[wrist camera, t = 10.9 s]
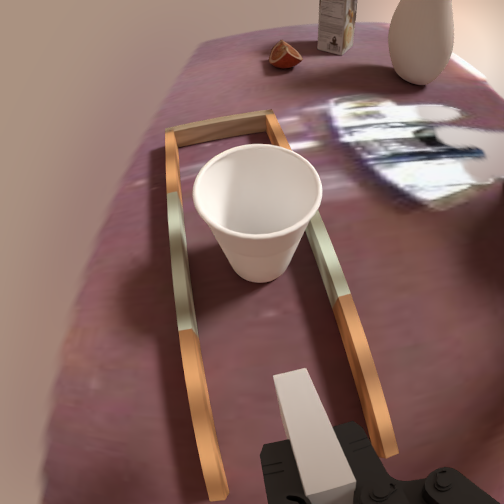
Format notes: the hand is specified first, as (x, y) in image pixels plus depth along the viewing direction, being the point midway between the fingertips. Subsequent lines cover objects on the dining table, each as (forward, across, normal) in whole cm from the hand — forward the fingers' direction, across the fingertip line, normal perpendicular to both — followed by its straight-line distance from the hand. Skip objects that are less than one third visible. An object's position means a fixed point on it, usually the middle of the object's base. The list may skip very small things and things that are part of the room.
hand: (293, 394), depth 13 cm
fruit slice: (+51, +16, +31) cm, 62 cm away
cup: (+21, +1, +1) cm, 21 cm away
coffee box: (+58, +31, +37) cm, 76 cm away
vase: (+47, +43, +26) cm, 68 cm away
